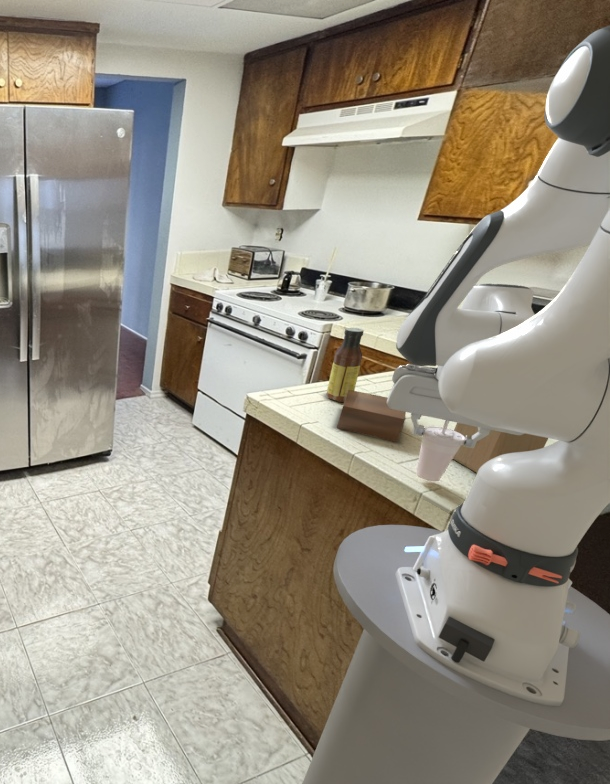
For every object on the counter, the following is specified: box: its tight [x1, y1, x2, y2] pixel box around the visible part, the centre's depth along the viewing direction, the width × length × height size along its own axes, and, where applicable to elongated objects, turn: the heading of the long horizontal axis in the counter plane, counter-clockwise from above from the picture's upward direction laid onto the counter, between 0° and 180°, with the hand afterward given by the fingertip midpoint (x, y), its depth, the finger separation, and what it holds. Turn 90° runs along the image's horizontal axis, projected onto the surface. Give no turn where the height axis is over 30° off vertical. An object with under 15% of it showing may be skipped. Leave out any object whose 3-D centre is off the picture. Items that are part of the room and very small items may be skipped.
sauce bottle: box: [326, 327, 365, 403], centre depth 126 cm, size 6×6×20 cm
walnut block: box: [336, 390, 407, 443], centre depth 114 cm, size 12×12×6 cm
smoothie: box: [415, 420, 466, 483], centre depth 91 cm, size 6×6×14 cm
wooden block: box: [452, 422, 549, 474], centre depth 95 cm, size 10×10×20 cm
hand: (442, 440), depth 90 cm, fingers closed on smoothie, 6 cm apart
